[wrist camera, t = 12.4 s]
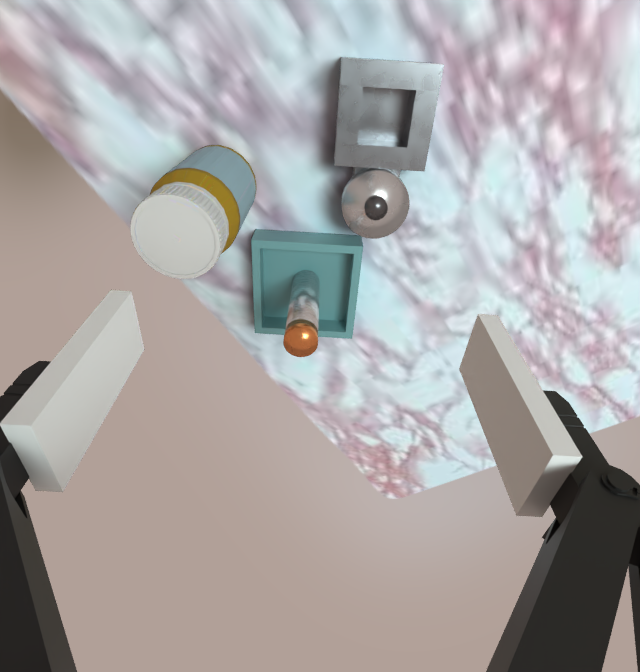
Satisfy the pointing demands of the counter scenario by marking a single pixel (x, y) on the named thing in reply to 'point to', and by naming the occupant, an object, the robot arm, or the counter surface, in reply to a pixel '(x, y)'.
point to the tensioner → (382, 137)
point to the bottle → (194, 212)
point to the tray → (297, 255)
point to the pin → (303, 315)
